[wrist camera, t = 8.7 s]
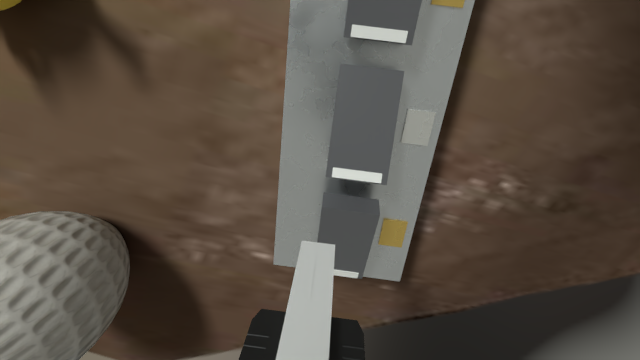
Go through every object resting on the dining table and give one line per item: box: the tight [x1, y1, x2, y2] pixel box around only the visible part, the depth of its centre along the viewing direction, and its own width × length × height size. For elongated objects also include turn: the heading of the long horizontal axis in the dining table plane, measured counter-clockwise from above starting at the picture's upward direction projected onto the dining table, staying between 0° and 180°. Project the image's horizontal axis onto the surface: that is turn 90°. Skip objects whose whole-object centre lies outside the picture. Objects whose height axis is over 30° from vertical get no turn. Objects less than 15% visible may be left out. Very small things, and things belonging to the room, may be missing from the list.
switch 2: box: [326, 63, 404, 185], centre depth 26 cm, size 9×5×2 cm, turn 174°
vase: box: [0, 211, 130, 360], centre depth 31 cm, size 16×16×22 cm
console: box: [274, 0, 475, 282], centre depth 30 cm, size 34×14×6 cm, turn 174°
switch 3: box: [317, 192, 380, 279], centre depth 30 cm, size 9×5×2 cm, turn 174°
